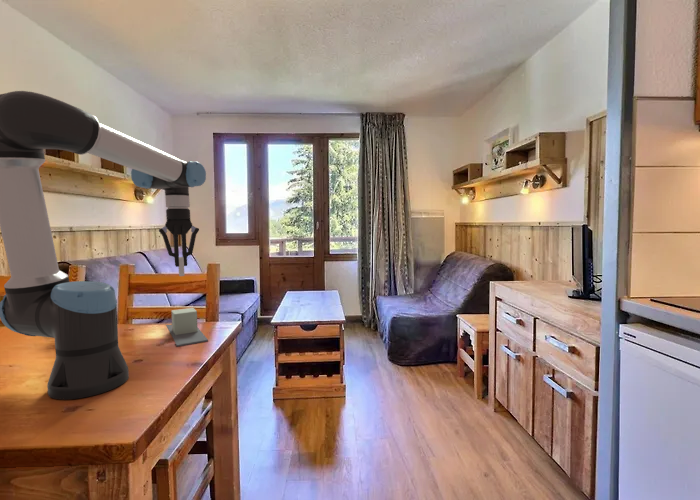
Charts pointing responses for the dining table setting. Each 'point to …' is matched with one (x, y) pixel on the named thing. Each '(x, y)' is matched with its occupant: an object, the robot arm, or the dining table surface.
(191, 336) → the mat
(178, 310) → the block
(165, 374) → the dining table surface
